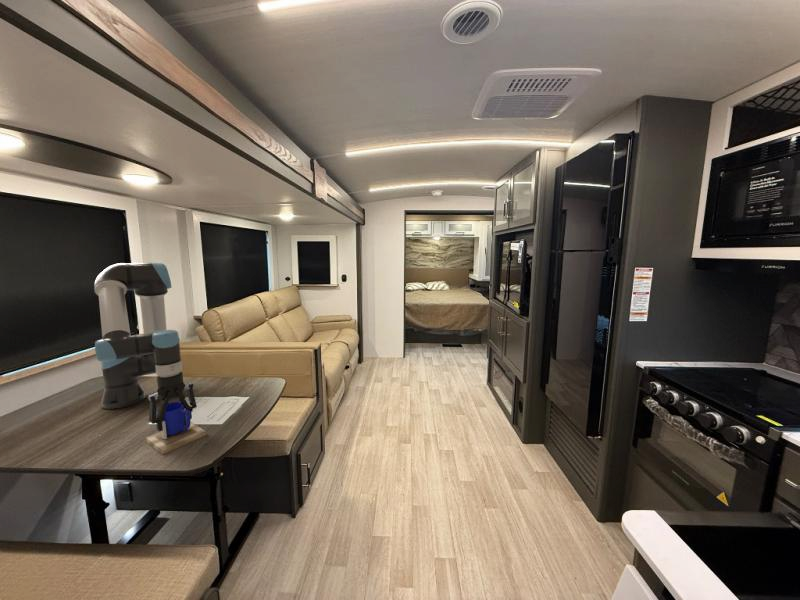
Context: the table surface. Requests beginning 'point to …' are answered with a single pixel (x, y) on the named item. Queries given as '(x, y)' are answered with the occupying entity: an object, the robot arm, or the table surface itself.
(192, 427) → the trivet
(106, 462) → the table surface
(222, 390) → the table surface
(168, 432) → the mug
